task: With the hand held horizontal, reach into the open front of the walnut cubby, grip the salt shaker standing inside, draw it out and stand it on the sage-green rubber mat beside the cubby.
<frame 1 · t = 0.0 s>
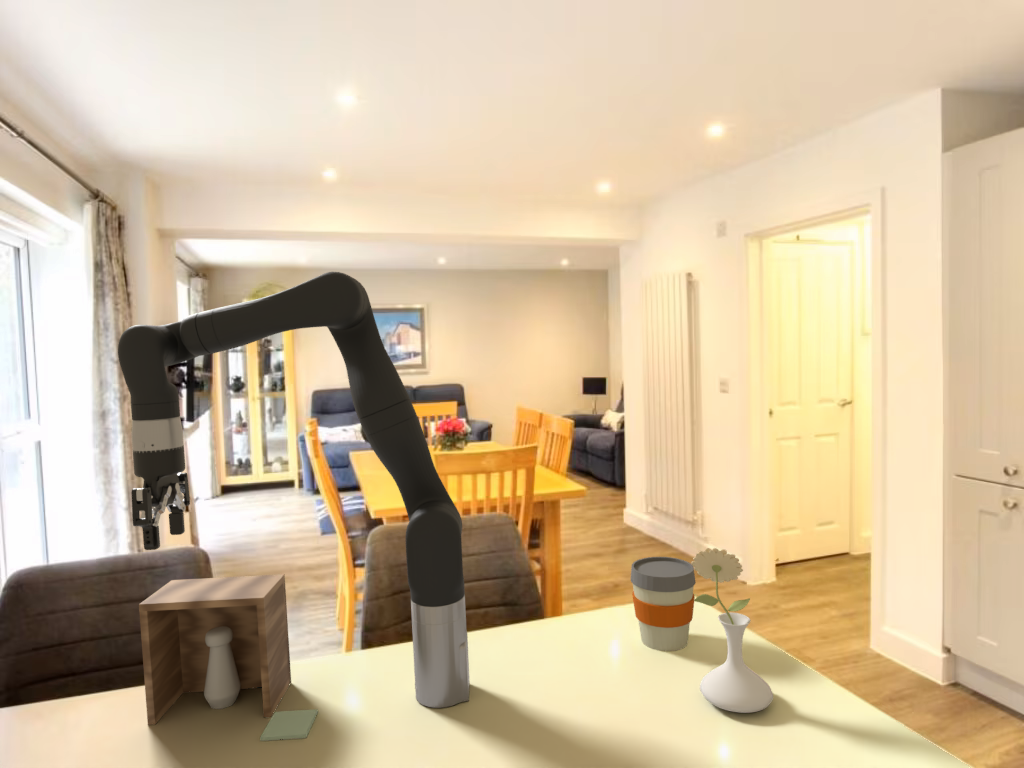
hand: (165, 541, 108), 29 cm above the counter, tool pointing down, fingers open, 8 cm apart
reusable coffee cup: (664, 641, 128), on the counter
salt shaker: (223, 703, 112), on the counter
mat: (290, 726, 104), on the counter
cubby: (223, 702, 112), on the counter
flower in vase: (731, 700, 106), on the counter
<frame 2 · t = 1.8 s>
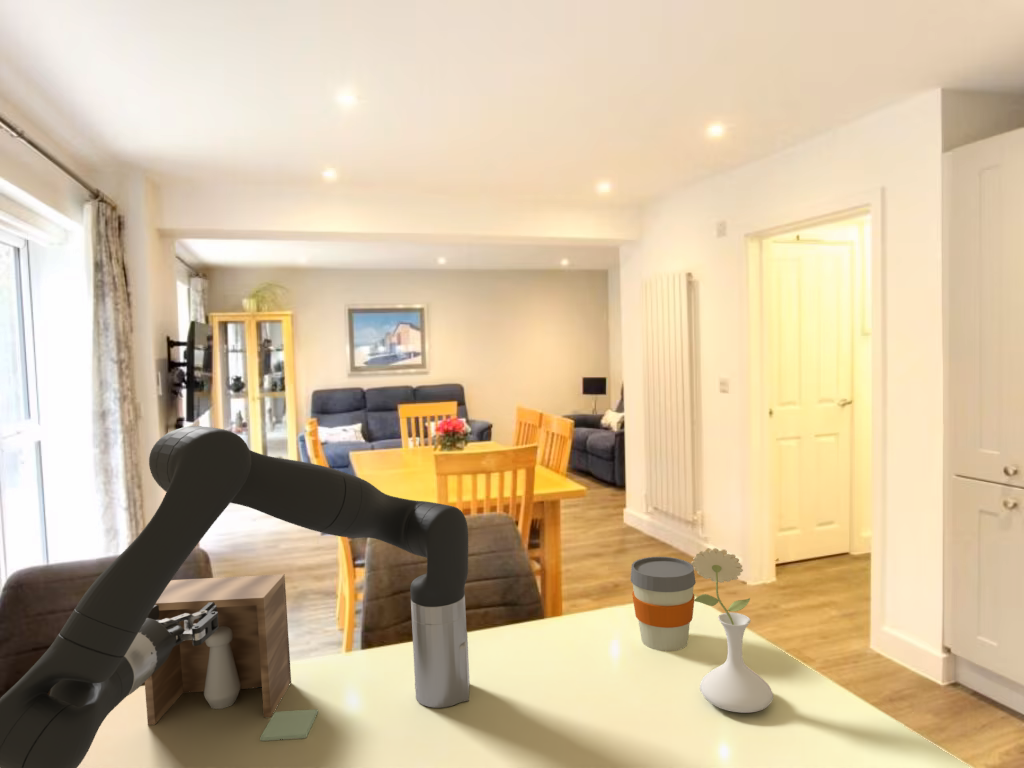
hand: (184, 609, 99), 21 cm above the counter, tool horizontal, fingers open, 8 cm apart
nothing on the counter moved.
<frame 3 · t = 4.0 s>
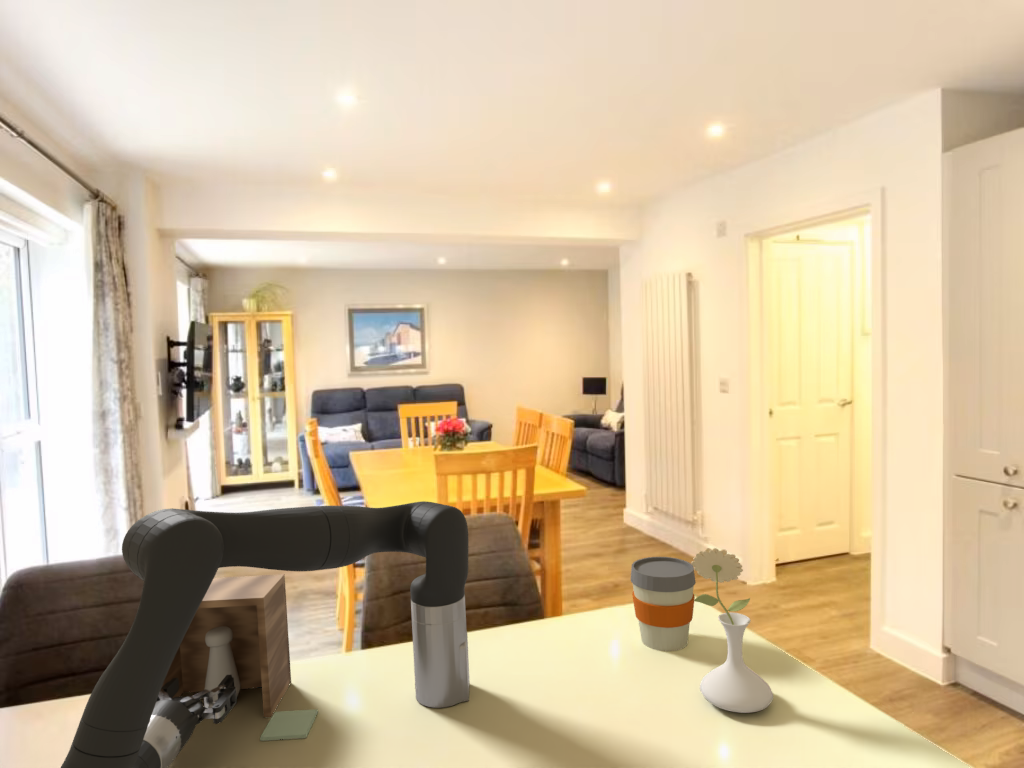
hand: (203, 681, 104), 7 cm above the counter, tool horizontal, fingers open, 8 cm apart
nothing on the counter moved.
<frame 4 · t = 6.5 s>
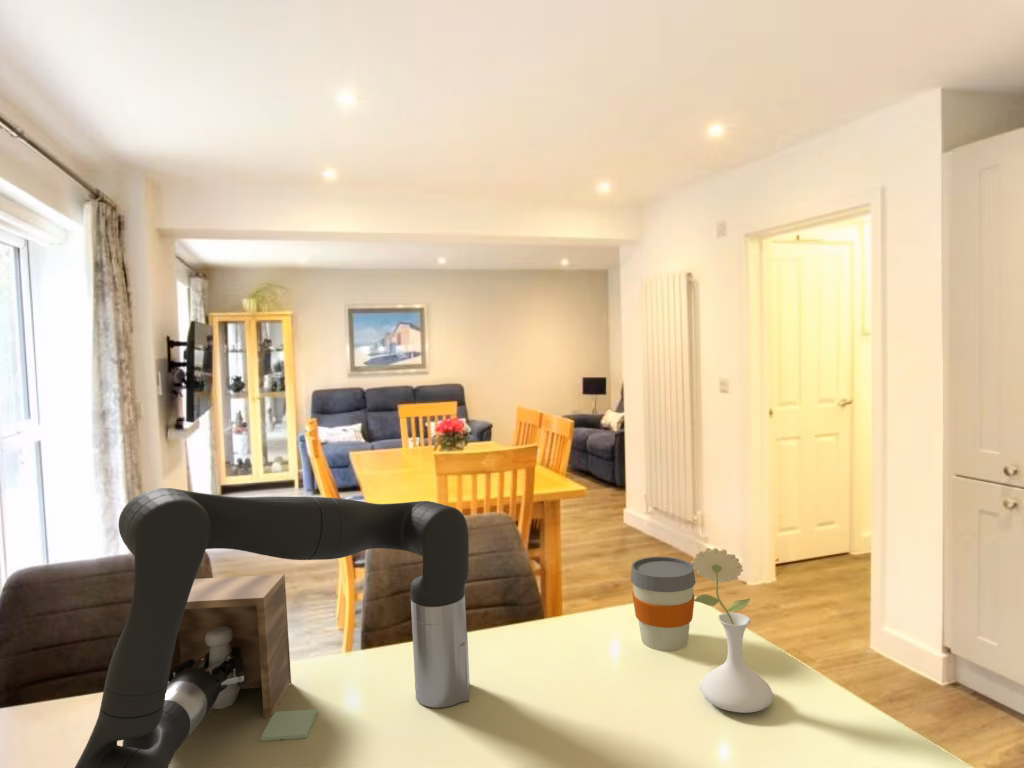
hand: (226, 652, 114), 8 cm above the counter, tool horizontal, fingers closed on salt shaker, 3 cm apart
salt shaker: (223, 703, 112), on the counter, touching gripper
everything else where it was.
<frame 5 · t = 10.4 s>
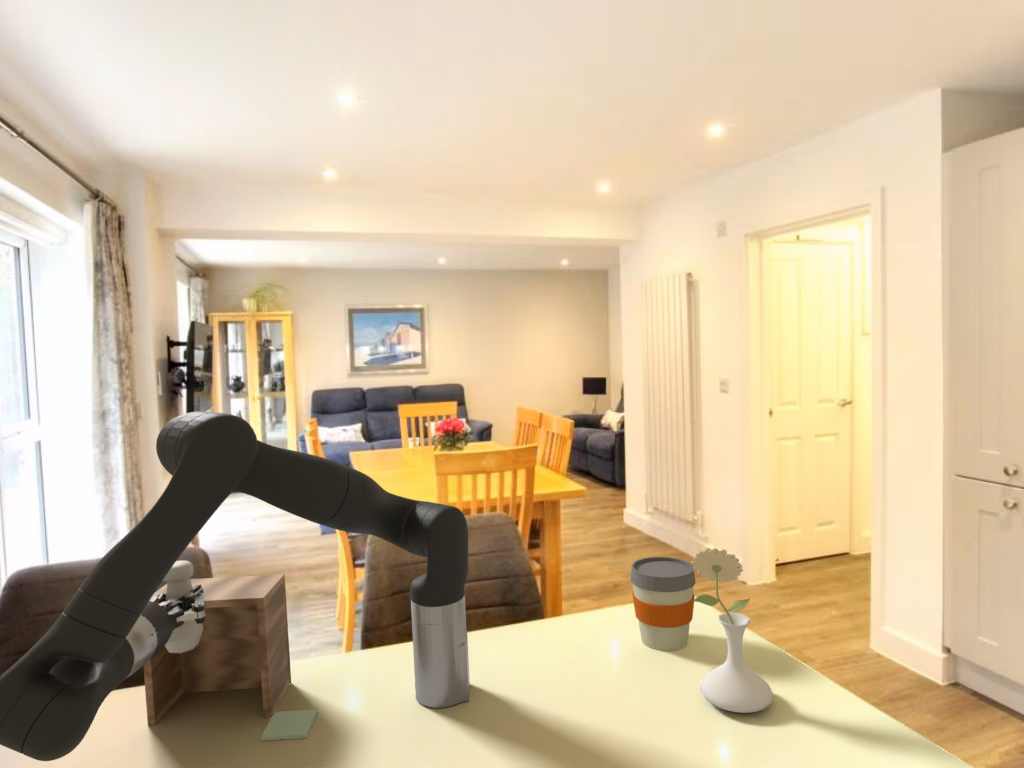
hand: (187, 591, 100), 24 cm above the counter, tool horizontal, fingers closed on salt shaker, 3 cm apart
salt shaker: (183, 648, 98), point 16 cm above the counter, touching gripper
everything else where it was.
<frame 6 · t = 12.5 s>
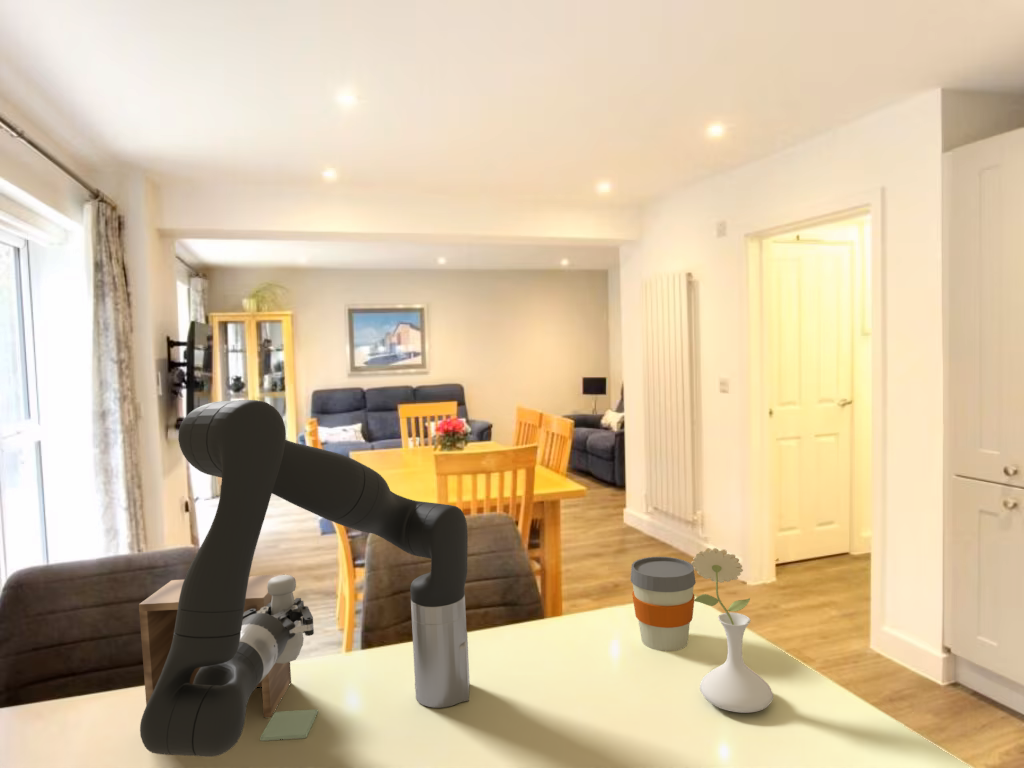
hand: (287, 604, 105), 19 cm above the counter, tool horizontal, fingers closed on salt shaker, 3 cm apart
salt shaker: (285, 659, 103), point 11 cm above the counter, touching gripper
everything else where it was.
when the fingers open (9 cm above the counter, at t = 14.5 s): salt shaker stays where it is, resting on mat.
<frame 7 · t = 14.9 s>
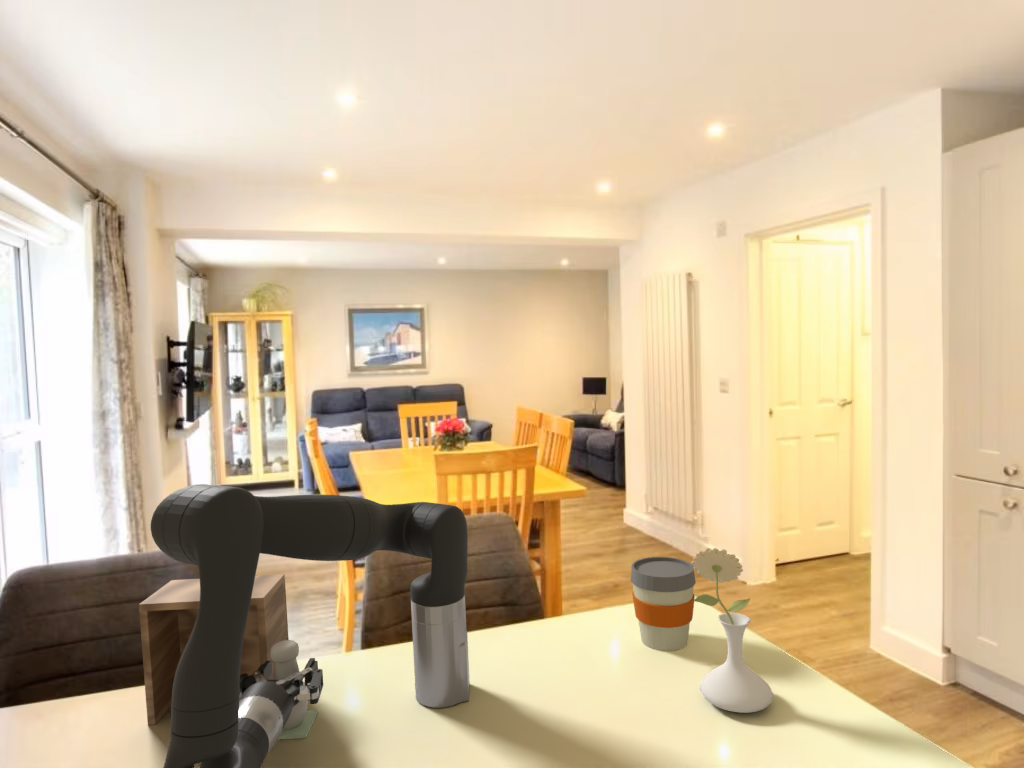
hand: (291, 664, 105), 9 cm above the counter, tool horizontal, fingers open, 6 cm apart
salt shaker: (290, 723, 104), resting on mat
everything else where it was.
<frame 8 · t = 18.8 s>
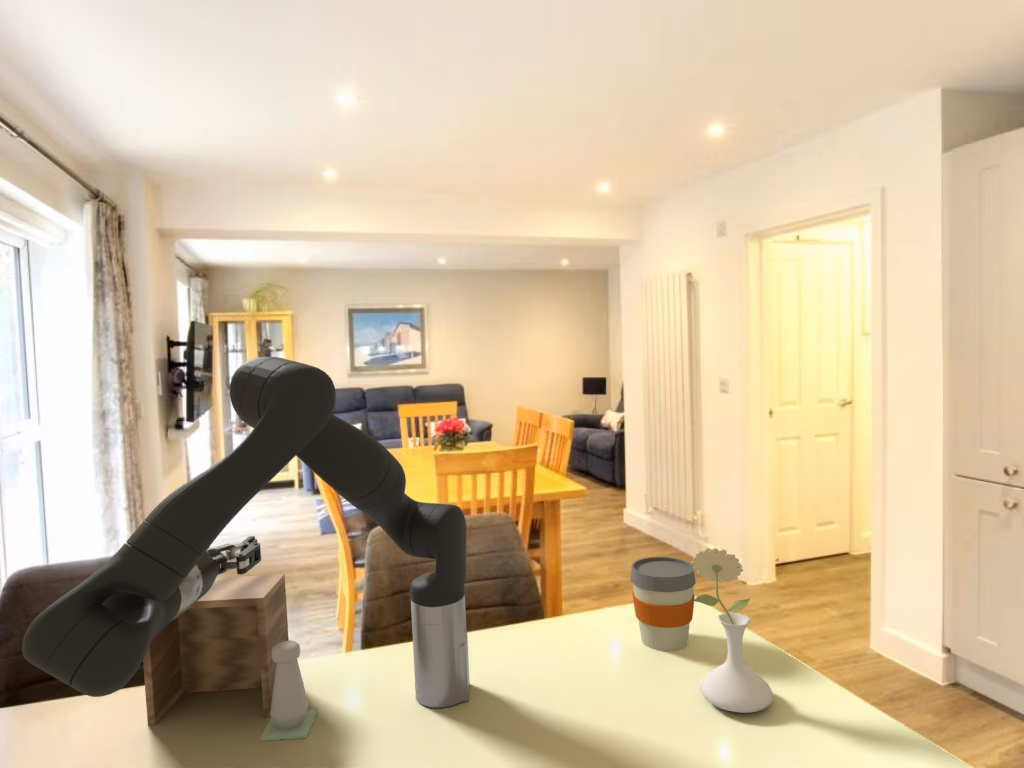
hand: (223, 544, 96), 32 cm above the counter, tool horizontal, fingers open, 8 cm apart
nothing on the counter moved.
at the end: salt shaker 0.1 cm from the mat (horizontally); salt shaker tilted 0°; the gripper is holding nothing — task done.
